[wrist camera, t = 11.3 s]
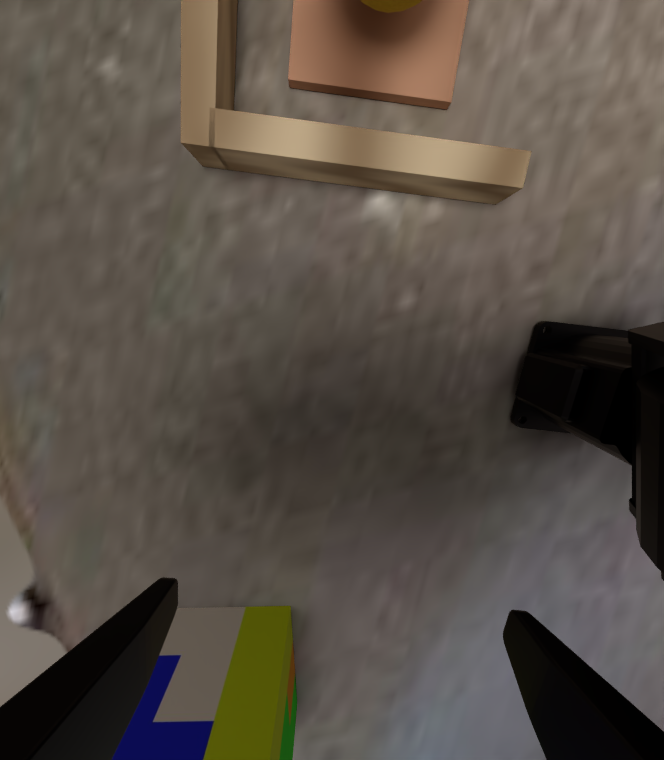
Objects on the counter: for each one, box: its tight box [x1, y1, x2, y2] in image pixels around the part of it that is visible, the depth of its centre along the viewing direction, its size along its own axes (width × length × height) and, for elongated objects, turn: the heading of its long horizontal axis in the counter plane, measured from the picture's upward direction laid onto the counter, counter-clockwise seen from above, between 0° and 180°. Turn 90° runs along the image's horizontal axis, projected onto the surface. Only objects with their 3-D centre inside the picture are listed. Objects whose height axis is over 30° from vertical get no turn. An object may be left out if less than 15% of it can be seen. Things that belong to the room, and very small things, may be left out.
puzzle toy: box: [112, 606, 297, 760], centre depth 20 cm, size 10×10×10 cm
